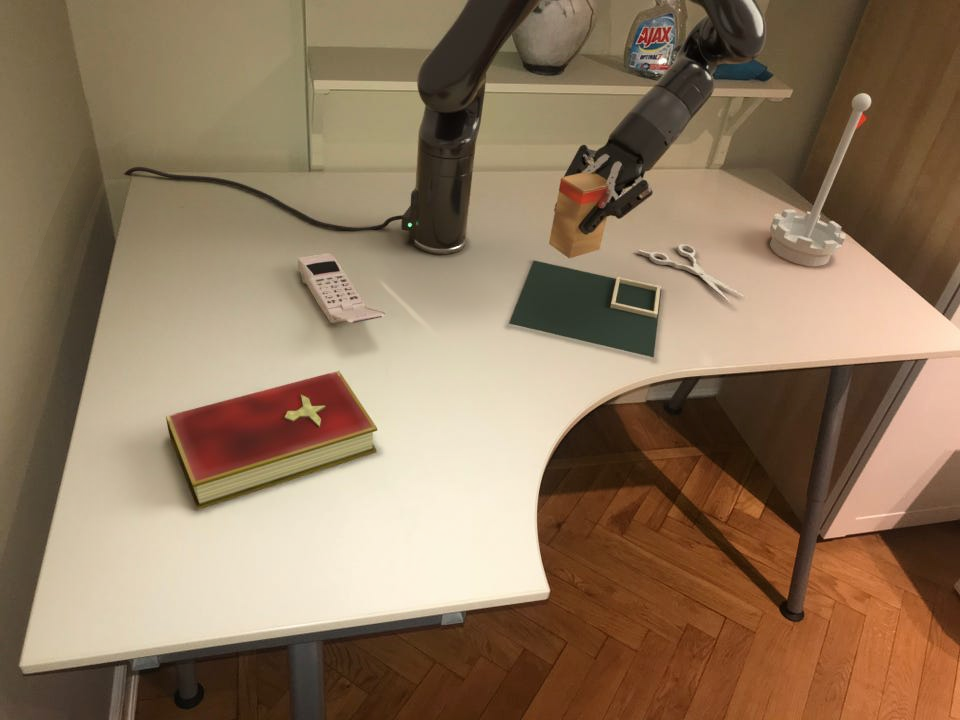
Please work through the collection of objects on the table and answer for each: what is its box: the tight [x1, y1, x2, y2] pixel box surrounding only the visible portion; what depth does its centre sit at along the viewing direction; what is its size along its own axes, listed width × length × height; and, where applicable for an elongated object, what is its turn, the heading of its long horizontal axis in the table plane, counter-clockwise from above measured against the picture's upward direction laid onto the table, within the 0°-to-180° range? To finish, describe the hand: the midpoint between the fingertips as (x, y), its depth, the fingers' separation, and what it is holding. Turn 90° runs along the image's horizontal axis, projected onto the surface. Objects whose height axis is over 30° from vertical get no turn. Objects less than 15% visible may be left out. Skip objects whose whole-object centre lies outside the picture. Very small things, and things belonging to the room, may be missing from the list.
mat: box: [508, 260, 662, 358], centre depth 121 cm, size 22×20×1 cm
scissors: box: [637, 243, 748, 305], centre depth 133 cm, size 11×1×20 cm
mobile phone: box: [297, 253, 386, 324], centre depth 113 cm, size 6×6×25 cm
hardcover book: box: [165, 370, 378, 511], centre depth 89 cm, size 12×21×4 cm, turn 121°
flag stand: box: [769, 92, 872, 267], centre depth 136 cm, size 13×13×30 cm
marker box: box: [548, 172, 615, 259], centre depth 108 cm, size 5×6×10 cm
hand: (570, 222), depth 108 cm, fingers closed on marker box, 4 cm apart
